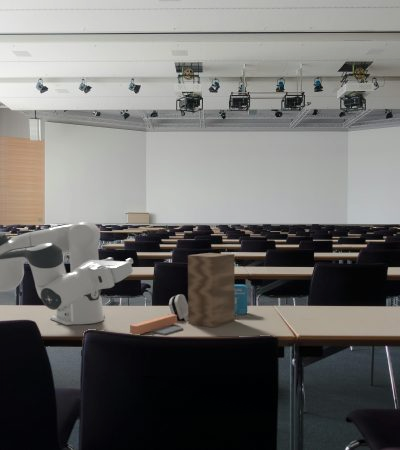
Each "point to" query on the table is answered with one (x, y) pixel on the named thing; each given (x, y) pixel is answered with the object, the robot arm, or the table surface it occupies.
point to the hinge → (179, 307)
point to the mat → (166, 330)
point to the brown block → (211, 289)
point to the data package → (240, 299)
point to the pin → (153, 324)
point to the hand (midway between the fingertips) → (121, 259)
